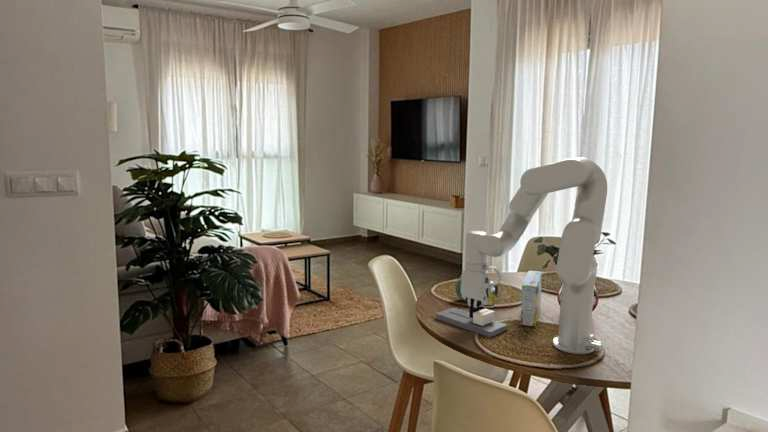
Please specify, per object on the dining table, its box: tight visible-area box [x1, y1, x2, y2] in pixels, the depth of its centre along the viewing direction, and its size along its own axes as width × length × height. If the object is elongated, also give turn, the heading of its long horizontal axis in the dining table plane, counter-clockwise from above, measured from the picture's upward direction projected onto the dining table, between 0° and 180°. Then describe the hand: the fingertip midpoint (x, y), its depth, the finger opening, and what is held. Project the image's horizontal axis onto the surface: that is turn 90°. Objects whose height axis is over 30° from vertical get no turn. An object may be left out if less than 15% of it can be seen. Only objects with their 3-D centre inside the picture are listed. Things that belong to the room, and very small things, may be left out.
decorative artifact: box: [454, 276, 467, 302], centre depth 208 cm, size 10×7×10 cm
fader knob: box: [473, 307, 496, 326], centre depth 179 cm, size 4×7×4 cm, turn 133°
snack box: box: [520, 270, 543, 328], centre depth 191 cm, size 21×6×15 cm, turn 159°
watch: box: [488, 265, 503, 294], centre depth 222 cm, size 6×8×11 cm
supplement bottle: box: [480, 280, 496, 309], centre depth 203 cm, size 5×5×10 cm
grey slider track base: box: [435, 307, 509, 338], centre depth 184 cm, size 24×10×2 cm, turn 43°
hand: (473, 317), depth 183 cm, fingers closed
